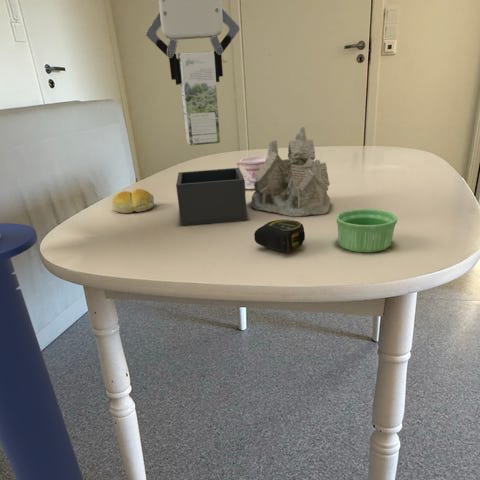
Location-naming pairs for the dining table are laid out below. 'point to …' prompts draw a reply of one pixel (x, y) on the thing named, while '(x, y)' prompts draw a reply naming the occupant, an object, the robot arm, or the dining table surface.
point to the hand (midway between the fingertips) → (197, 82)
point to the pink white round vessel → (251, 169)
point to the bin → (211, 196)
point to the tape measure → (280, 235)
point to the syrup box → (199, 97)
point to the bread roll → (133, 201)
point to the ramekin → (365, 229)
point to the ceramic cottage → (292, 180)
